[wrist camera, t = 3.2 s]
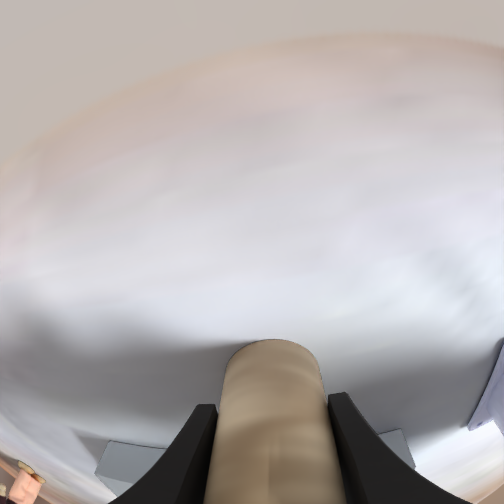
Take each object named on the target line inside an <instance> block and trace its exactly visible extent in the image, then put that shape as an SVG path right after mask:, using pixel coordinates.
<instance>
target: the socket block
mask: <svg viewBox="0 0 504 504" xmlns="http://www.w3.org/2000/svg"><path fill="white" fill-rule="evenodd" d="M378 436H379V437H380V438H381V439H382V440H383V441H384V442H385V444H386V445H387V446H388V447H389V448H390V449H391V450H392V451H393V452H394V453H395V454H396V455H397V456H398V457H400V458H401V459H402V460H403V461H404V462H405V463H406V464H408V465H409V466H410V467H411V468H412V469H415V467H416V466H415V463H414V460H413V458H412V455H411V453H410V450H409V448H408V445H407V443H406V440H405V438H404V435H403V433H402V430H401V429H398V430H394V431H390V432H387V433H383V434H379V435H378ZM166 450H167V449H159V448H151V447H143V446H136V445H130V444H124V443H119V442H113V441H109V443H108V445H107V447H106V449H105V451H104V453H103V455H102V458H101V460H100V462H99V464H98V466H97V468H96V471H95V473H94V474H95V475H96V476H97V477H98V478H99V479H100V480H101V481H102V482H103V483H104V484H105V485H106V486H107V487H108V488H109V489H110V490H111V491H112V492H113V493H114V494H115V495H116V496H117V497H119V496H120V495H121V494H123V493H124V492H125V491H126V490H128V489H129V488H130V487H131V486H132V485H134V484H135V483H136V482H137V481H138V480H139V479H140V478H141V477H142V476H143V475H144V474H145V473H146V472H147V471H148V470H149V469H150V468H151V467H152V466H153V465H154V464H155V463H156V462H157V461H158V459H159V458H160V457H161V456H162V455H163V453H164V452H165V451H166Z"/></svg>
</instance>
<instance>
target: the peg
mask: <svg viewBox="0 0 504 504" xmlns="http://www.w3.org/2000/svg"><path fill="white" fill-rule="evenodd" d="M203 504H347V501H346V495H345V490H344V484H343V479H342V474H341V469H340V463H339V458H338V453H337V448H336V443H335V438H334V434H333V429H332V424H331V420H330V415H329V410H328V406H327V401H326V397H325V392H324V388H323V383H322V379H321V375H320V370H319V366H318V363H317V361H316V359H315V357H314V356H313V354H312V353H311V352H310V351H308V350H307V349H306V348H304V347H303V346H301V345H299V344H296V343H294V342H290V341H286V340H276V339H272V340H262V341H258V342H254V343H252V344H249V345H247V346H245V347H243V348H242V349H240V350H239V351H237V352H236V353H235V354H234V355H233V356H232V358H231V359H230V361H229V362H228V365H227V367H226V372H225V378H224V384H223V390H222V395H221V401H220V407H219V413H218V419H217V424H216V430H215V436H214V442H213V448H212V454H211V460H210V466H209V471H208V477H207V483H206V489H205V495H204V501H203Z"/></svg>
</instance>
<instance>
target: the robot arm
mask: <svg viewBox="0 0 504 504" xmlns="http://www.w3.org/2000/svg"><path fill="white" fill-rule="evenodd" d="M328 410H329V415H330V420H331V424H332V429H333V434H334V438H335V443H336V448H337V453H338V458H339V463H340V469H341V474H342V479H343V484H344V490H345V495H346V501H347V504H472V503H470V502H467V501H465V500H463V499H461V498H458V497H456V496H454V495H452V494H451V493H449V492H447V491H445V490H443V489H441V488H440V487H438V486H437V485H435V484H434V483H432V482H430V481H429V480H427V479H426V478H424V477H423V476H421V475H420V474H419V473H418V472H416V471H415V470H414V469H412V468H411V467H410V466H409V465H408V464H406V463H405V462H404V461H403V460H402V459H401V458H400V457H398V456H397V455H396V454H395V453H394V452H393V451H392V450H391V449H390V448H389V447H388V446H387V445H386V444H385V442H384V441H383V440H382V439H381V438H380V437H379V436H378V435H377V433H376V432H375V431H374V430H373V429H372V427H371V426H370V425H369V424H368V423H367V421H366V420H365V419H364V417H363V416H362V415H361V413H360V412H359V410H358V409H357V408H356V406H355V405H354V403H353V402H352V400H351V398H350V397H349V395H348V394H347V393H346V392H342V393H336V394H330V395H328ZM217 419H218V413H217V410H216V407H215V404H198V405H197V406H196V408H195V409H194V411H193V412H192V414H191V416H190V417H189V419H188V420H187V422H186V423H185V425H184V426H183V428H182V429H181V431H180V432H179V434H178V435H177V436H176V438H175V439H174V441H173V442H172V443H171V445H170V446H169V447H168V449H167V450H166V451H165V452H164V453H163V455H162V456H161V457H160V458H159V459H158V461H157V462H156V463H155V464H154V465H153V466H152V467H151V468H150V469H149V470H148V471H147V472H146V473H145V474H144V475H143V476H142V477H141V478H140V479H139V480H138V481H137V482H136V483H135V484H134V485H132V486H131V487H130V488H129V489H128V490H126V491H125V492H124V493H123V494H121V495H120V496H119V497H117V498H116V499H114V500H113V501H111V502H110V503H108V504H203V501H204V495H205V489H206V483H207V477H208V471H209V466H210V460H211V454H212V448H213V442H214V436H215V430H216V424H217ZM492 420H494V422H495V423H496V425H497V426H498V428H499V429H500V431H501V433H502V434H503V436H504V345H503V347H502V350H501V352H500V355H499V358H498V361H497V363H496V366H495V368H494V371H493V373H492V376H491V378H490V381H489V383H488V385H487V387H486V390H485V392H484V394H483V396H482V398H481V401H480V403H479V405H478V407H477V409H476V411H475V413H474V415H473V417H472V418H471V420H470V422H469V424H468V426H467V428H468V430H469V431H472V430H474V429H476V428H478V427H480V426H482V425H484V424H486V423H488V422H490V421H492Z"/></svg>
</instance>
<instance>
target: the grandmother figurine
mask: <svg viewBox="0 0 504 504" xmlns="http://www.w3.org/2000/svg"><path fill="white" fill-rule="evenodd" d="M18 465H19V468H20V469H21V470H20V471H19V473H18V475H17V477H16V480H15V482H14V484H13V486H12V488H11V490H10V492H9V496H8V499H7V500H6V496H5V495H6V492H5V490H6V486H5V485H4V484H3V483H0V504H33V502H34V500H35V499H36V497H37V494H38V492H39V489H40V487H41V483H45V482H46V481H45V480H44V479H43V478H41V477H40V476H38V475H36V474H34V473H35V472H34V471H33V470H32V469H31V468H30V467H29V466H27V465H26V464H24V463H22V462H21V461H18ZM29 473H30V474H31V476H30V475H29Z"/></svg>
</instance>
